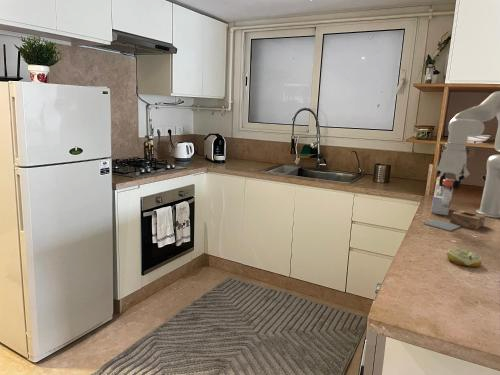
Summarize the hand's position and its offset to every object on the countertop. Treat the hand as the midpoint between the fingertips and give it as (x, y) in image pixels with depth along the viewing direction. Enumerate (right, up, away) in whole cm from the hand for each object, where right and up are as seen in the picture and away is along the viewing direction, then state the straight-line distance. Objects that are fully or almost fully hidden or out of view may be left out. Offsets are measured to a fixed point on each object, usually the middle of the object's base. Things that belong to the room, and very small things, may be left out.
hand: (448, 187), depth 171 cm
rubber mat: (-1, -18, +4) cm, 18 cm away
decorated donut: (-15, -27, -38) cm, 49 cm away
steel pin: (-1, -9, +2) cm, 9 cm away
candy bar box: (+14, -12, +37) cm, 41 cm away
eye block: (+13, -18, +8) cm, 23 cm away
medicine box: (+8, -14, +25) cm, 30 cm away
